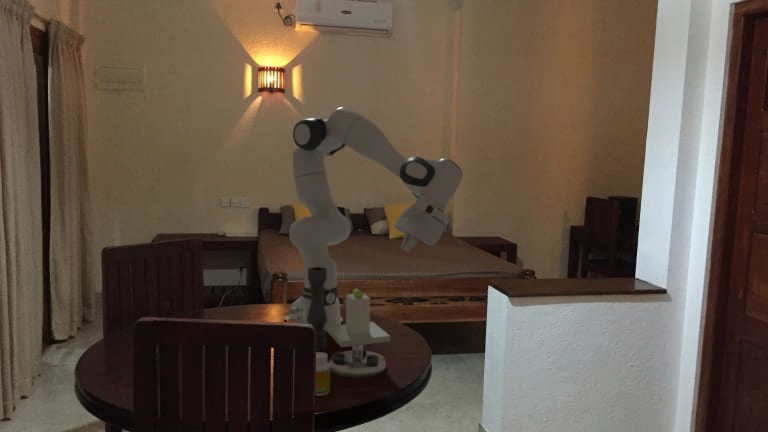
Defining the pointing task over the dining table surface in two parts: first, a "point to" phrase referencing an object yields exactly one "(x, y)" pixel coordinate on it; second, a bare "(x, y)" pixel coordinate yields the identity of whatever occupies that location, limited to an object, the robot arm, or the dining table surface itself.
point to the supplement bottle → (322, 374)
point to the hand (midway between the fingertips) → (404, 250)
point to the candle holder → (318, 305)
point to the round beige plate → (357, 363)
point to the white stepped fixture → (357, 323)
